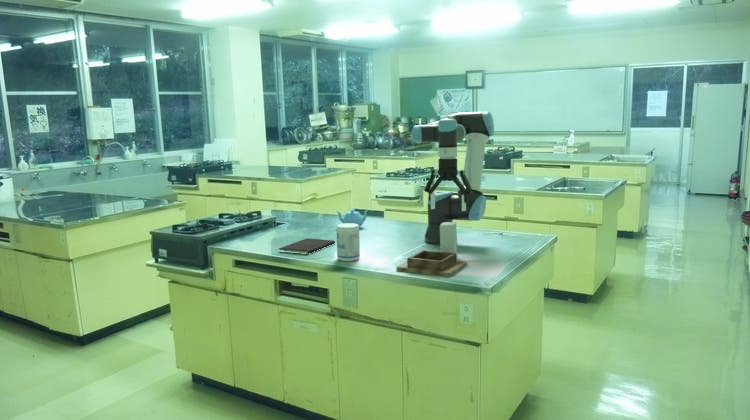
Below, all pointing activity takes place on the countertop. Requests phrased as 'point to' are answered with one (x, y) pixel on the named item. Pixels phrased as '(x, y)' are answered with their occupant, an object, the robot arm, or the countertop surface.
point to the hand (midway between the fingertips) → (448, 209)
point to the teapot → (353, 217)
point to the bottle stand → (433, 263)
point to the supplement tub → (348, 242)
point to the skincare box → (448, 237)
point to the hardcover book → (307, 245)
